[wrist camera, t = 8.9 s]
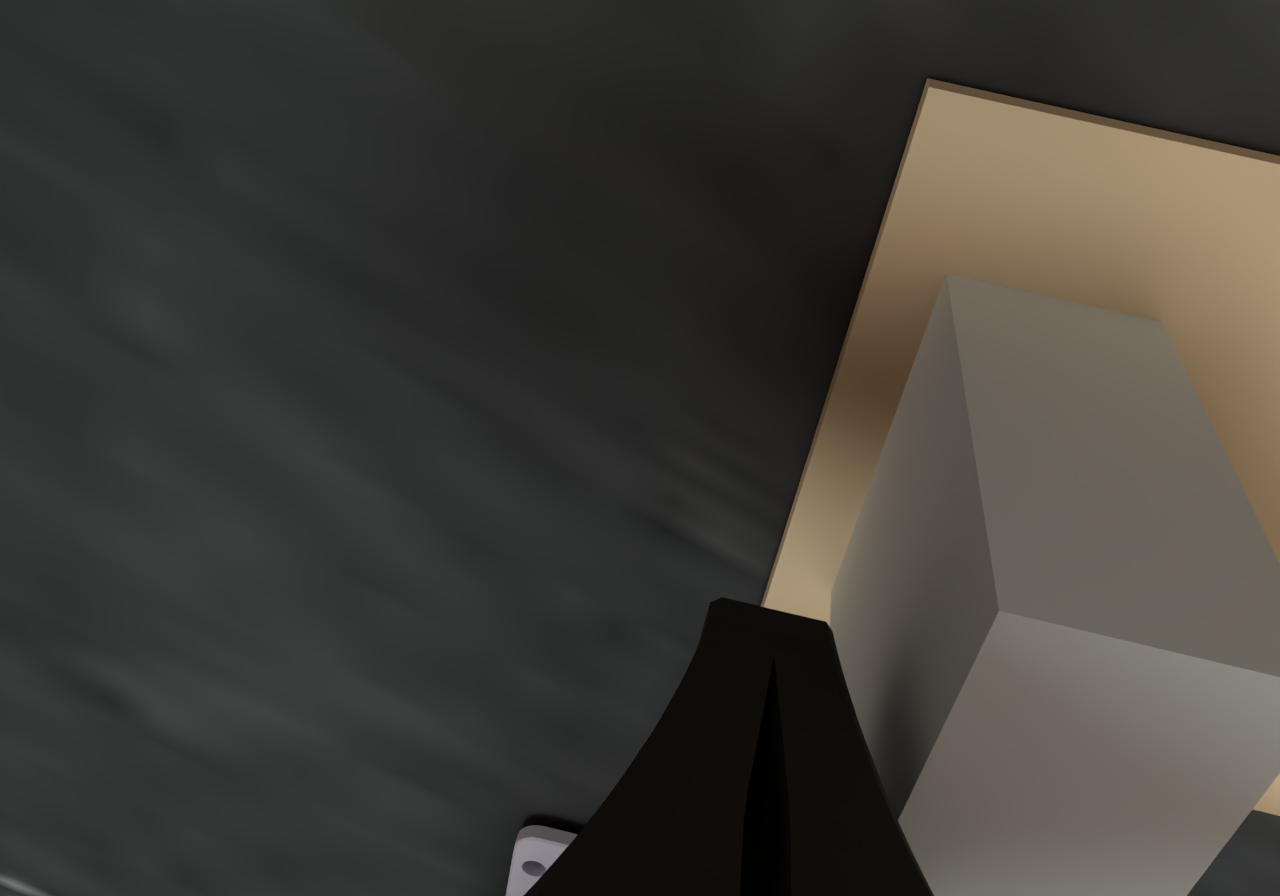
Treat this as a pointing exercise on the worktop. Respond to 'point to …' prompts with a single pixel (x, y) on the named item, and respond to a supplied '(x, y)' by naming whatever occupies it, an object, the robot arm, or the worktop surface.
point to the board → (1053, 288)
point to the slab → (1059, 608)
